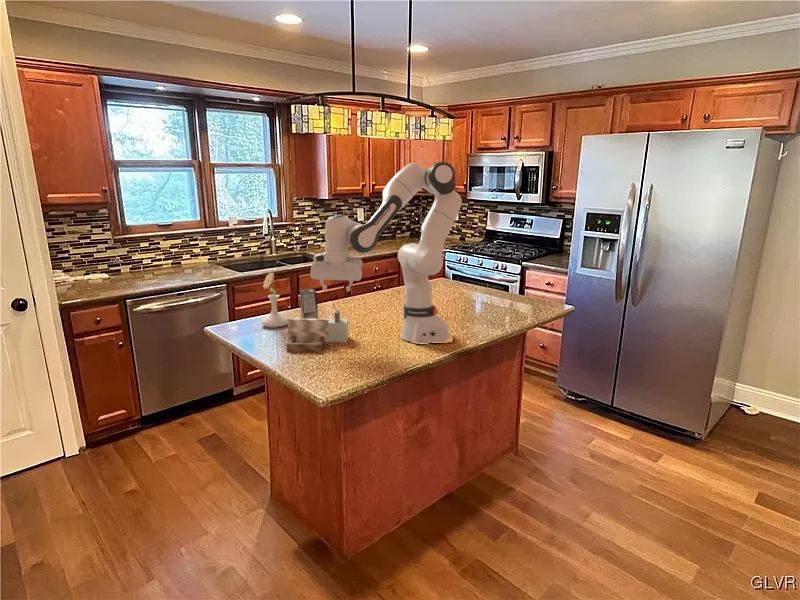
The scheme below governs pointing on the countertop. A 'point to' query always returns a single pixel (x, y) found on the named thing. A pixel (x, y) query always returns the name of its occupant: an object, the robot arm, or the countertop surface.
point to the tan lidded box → (307, 334)
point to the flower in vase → (273, 306)
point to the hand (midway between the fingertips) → (336, 290)
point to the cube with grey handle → (338, 328)
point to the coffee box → (309, 304)
